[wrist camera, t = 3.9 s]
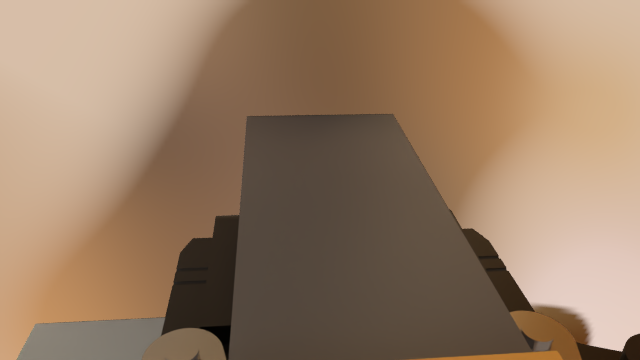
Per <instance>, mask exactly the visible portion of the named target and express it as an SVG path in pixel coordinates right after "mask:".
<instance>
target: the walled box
mask: <svg viewBox="0 0 640 360" xmlns="http://www.w3.org/2000/svg"><path fill="white" fill-rule="evenodd" d="M164 321H165V317H161V318H141V319H121V320H103V321H82V322H63V323H43V324H35V326H34V328H33V330H32V331H31V333H30V335H29V337H28V339H27V341H26V343H25V345H24V346H23V348H22V350H21V352H20V354H19V356H18V358H17V360H142V356H143V354H144V352H145V351H146V349H147V348H148V347H149V345H150V344H151V343H152V342H154V341H155V340H156V339H157V338H159V337H161V333H162V329H163V325H164Z"/></svg>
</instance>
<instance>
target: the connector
mask: <svg viewBox="0 0 640 360" xmlns="http://www.w3.org/2000/svg"><path fill="white" fill-rule="evenodd" d="M228 360H563V359H562V357H561V356H560V354H559V353H558V351H543V352H532V350H531V348H530V347H529V345H528V343H527V341H526V340H525V338H524V336H523V335H522V333H521V331H520V330H519V328H518V326H517V324H516V323H515V321H514V319H513V318H512V316H511V314H510V313H509V311H508V309H507V307H506V306H505V304H504V302H503V301H502V299H501V297H500V295H499V294H498V292H497V290H496V289H495V287H494V285H493V284H492V282H491V280H490V278H489V277H488V275H487V273H486V272H485V270H484V268H483V267H482V265H481V263H480V261H479V260H478V258H477V256H476V255H475V253H474V251H473V249H472V248H471V246H470V244H469V243H468V241H467V239H466V238H465V236H464V234H463V232H462V231H461V229H460V227H459V226H458V224H457V222H456V221H455V219H454V217H453V215H452V214H451V212H450V210H449V209H448V207H447V205H446V203H445V202H444V200H443V198H442V197H441V195H440V193H439V192H438V190H437V188H436V186H435V185H434V183H433V181H432V180H431V178H430V176H429V175H428V173H427V171H426V169H425V168H424V166H423V164H422V163H421V161H420V159H419V157H418V156H417V154H416V153H415V151H414V149H413V147H412V146H411V144H410V142H409V141H408V139H407V137H406V136H405V134H404V132H403V130H402V129H401V127H400V125H399V123H398V122H397V120H396V118H395V117H394V115H393V114H363V115H362V114H360V115H298V116H297V115H295V116H247V123H246V136H245V150H244V162H243V176H242V190H241V202H240V215H239V228H238V241H237V254H236V267H235V281H234V294H233V307H232V320H231V333H230V346H229V359H228Z"/></svg>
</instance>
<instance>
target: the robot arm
mask: <svg viewBox="0 0 640 360" xmlns="http://www.w3.org/2000/svg"><path fill="white" fill-rule="evenodd" d="M449 210H450V209H449ZM450 212H451V214H452V215H453V213H452V211H451V210H450ZM453 217H454V219H455V221H456V222H457V224H458V226H459V227H460V225H459V223H458V221H457V220H456V218H455V216H454V215H453ZM238 228H239V215H231V216H216V219H215V226H214V232H213V238H193V239H192V240H191V241H190V242H189V243H188V245H187V246H186V247H185V248H184V249H183V250H182V251H181V253H180V256H179V261H178V265H177V272H176V273H175V278H174V285H173V286H172V291H171V295H170V299H169V304H168V308H167V312H166V317H165V321H164V325H163V329H162V333H161V337H159V338H157V339H156V340H155V341H154V342H152V343H151V344H150V345H149V347H148V348H147V349H146V351H145V352H144V354H143V356H142V360H228V359H229V346H230V333H231V320H232V307H233V294H234V281H235V267H236V254H237V241H238ZM460 229H461V231H462V232H463V234H464V236H465V238H466V239H467V241H468V243H469V244H470V246H471V248H472V249H473V251H474V253H475V255H476V256H477V258H478V260H479V261H480V263H481V265H482V267H483V268H484V270H485V272H486V273H487V275H488V277H489V278H490V280H491V282H492V284H493V285H494V287H495V289H496V290H497V292H498V294H499V295H500V297H501V299H502V301H503V302H504V304H505V306H506V307H507V309H508V311H509V313H510V314H511V316H512V318H513V319H514V321H515V323H516V324H517V326H518V328H519V330H520V331H521V333H522V335H523V336H524V338H525V340H526V341H527V343H528V345H529V347H530V348H531V350H532V352H543V351H558V353H559V354H560V356H561V357H562V359H563V360H640V334H637V335H634V336H632V337H630V338H629V339H628V340H627V342H626V344H625V346H624V349H623V351H622V352H620V351H615V350H610V349H604V348H599V347H594V346H589V345H584V344H580V343H577V342H575V339H574V337H573V336H572V334H571V333H570V332H569V331H568V330H567V329H566V328H565V327H564V326H563V325H562V324H560V323H559V322H557V321H556V320H554V319H552V318H550V317H548V316H546V315H543V314H540V313H537V312H535V311H534V310H533V308H532V307H531V305H530V303H529V302H528V300H527V299H526V297H525V296H524V294H523V293H522V291H521V290H520V288H519V287H518V285H517V284H516V282H515V280H514V279H513V277H512V276H511V274H510V273H509V271H507V270H506V266H505V265H504V263H503V262H502V260H501V259H499V258H498V254H497V252H496V251H495V250H494V248H493V246H492V245H491V243H490V242H489V241H488V240H487V239H485V238H484V237H483V236H482V235H480V234H479V233H478V232H476V231H475V230H474V229H462V228H461V227H460Z"/></svg>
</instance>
